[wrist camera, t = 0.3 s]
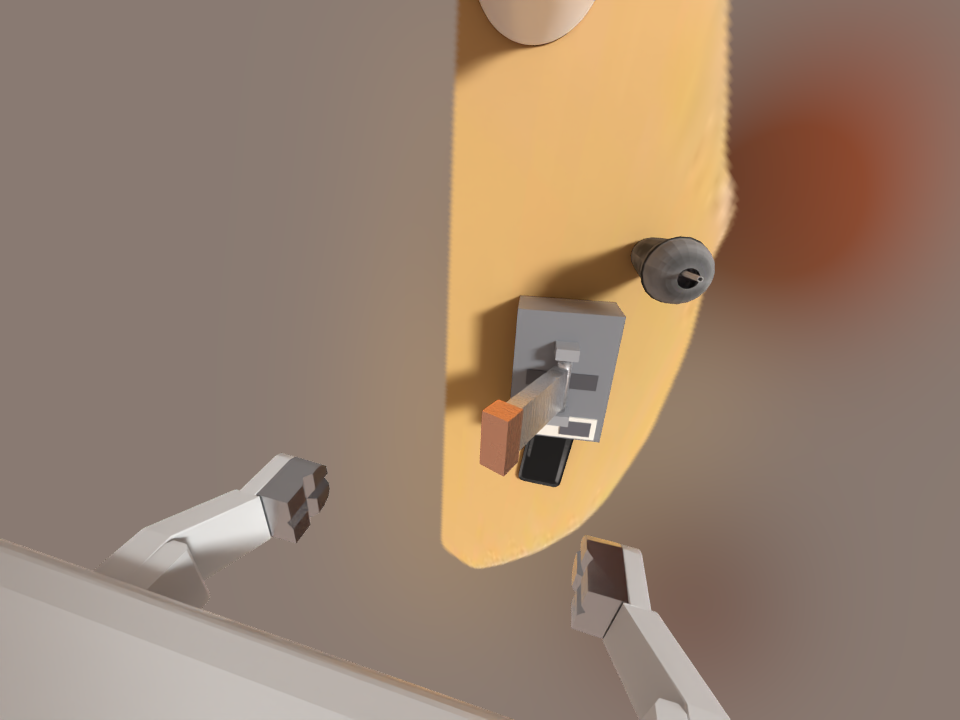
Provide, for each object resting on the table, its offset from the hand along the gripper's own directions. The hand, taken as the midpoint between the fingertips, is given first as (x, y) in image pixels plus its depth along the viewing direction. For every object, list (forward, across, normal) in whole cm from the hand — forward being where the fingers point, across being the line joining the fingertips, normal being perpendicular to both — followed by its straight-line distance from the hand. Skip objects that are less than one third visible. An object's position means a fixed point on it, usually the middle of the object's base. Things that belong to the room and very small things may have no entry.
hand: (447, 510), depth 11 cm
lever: (+38, -6, +18) cm, 42 cm away
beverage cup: (+49, -14, +1) cm, 50 cm away
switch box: (+46, -5, +18) cm, 50 cm away
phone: (+46, -7, +36) cm, 59 cm away
